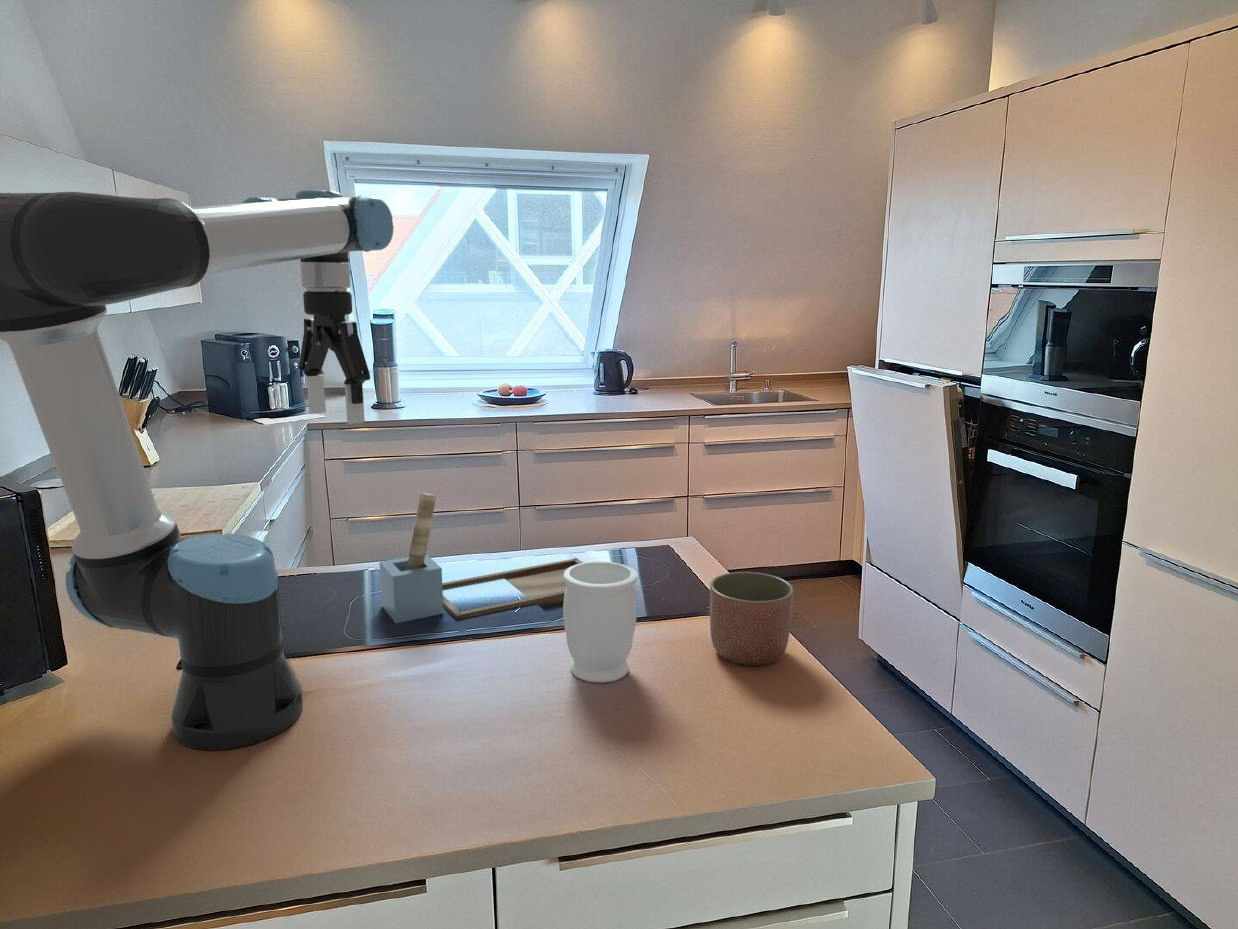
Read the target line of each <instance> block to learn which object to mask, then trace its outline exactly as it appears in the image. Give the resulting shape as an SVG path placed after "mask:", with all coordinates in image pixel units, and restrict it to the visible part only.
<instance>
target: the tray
mask: <svg viewBox="0 0 1238 929" xmlns="http://www.w3.org/2000/svg"><path fill="white" fill-rule="evenodd" d="M580 563H584V562H583V561H582V560H580V559H578V558H577V557H576V558H571V559H565V560H560V561H554V562H548V563H542V564H538V565H531V566H526V567H523V568H516V569H512V570H505V571H500V572H496V573H489V574H484V575H478V576H474V577H473V576H472V577H469V578H463V579H462V578H461V579H458V580H451V581H447V582H442V589H443V590H446V589H451V588H456V587H462V586H465V585H472V584H477V583H482V582H487V581H492V580H499V579H504V580H505V581H506V582H508V583H509V584H510V585H512V586H513V587H514V588H516V589H517V591H519V592H521V593H522V594H523V595H524V596H525V597H526V598H522V599H518V600H513V601H509V602H503V603H498V604H494V605H488V606H483V607H478V608H474V609H468V610H465V611H463V610H462V611H459V609H458V608H457V607H455V605H454V604H453V603H452V602H450V601H449V599H448V598H446V597H445V596H444V595H443V608H444V609H445V610H446V611H447V612H449V614H450V615H451V616H452V617H453V618H454V619H456V621H458V620H462V619H467V618H472V617H476V616H481V615H485V614H491V613H495V612H500V611H505V610H509V609H513V608H515V609H516V608H519V607H523V606H528V605H533V604H535V605H537V606H538V607H539V608H545V607H551V606H556V605H560V604H563V603H564V595H565V590H566V587H567V585H566V583H565V582H564V580H563V575H564V571H565V570H566V569H567V568H569V567H571V566H573V565H576V564H580Z"/></svg>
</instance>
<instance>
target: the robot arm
mask: <svg viewBox="0 0 1238 929" xmlns="http://www.w3.org/2000/svg"><path fill="white" fill-rule="evenodd" d="M393 234H394V222H393V215H392V212H391V209H390V208H389V206H388V205H387V203H386V202H385V201H384V200H383V199H381V198H380V197H376V196H364V195H358V196H344V195H342V193H341V192H337V191H334V190H322V189H321V190H319V189H303V190H299V191H297V193H296V194H295V197H293V198H291V197H290V198H275V197H270V196H250V197H248V198H246V199H244V200H243V201H242V202H240V203H225V204H211V205H209V204H208V205H193V206H192V205H191V206H189V205H188V204H187V203H185V202H183V201H181V200H179V199H176V198H172V197H171V198H170V197H161V198H145V197H131V196H130V197H129V196H120V195H119V196H118V195H112V194H111V195H110V194H102V193H101V194H100V193H91V192H82V191H81V192H80V191H57V192H14V193H12V192H1V193H0V340H1V341H3V342H5V343H6V344H8V345H9V348H10V351H11V353H12V356H13V359H14V361H15V364H16V366H17V368H18V372H19V375H20V377H21V379H22V382H23V384H24V387H25V389H26V392H27V395H28V397H29V401H30V403H31V405H32V408H33V411H34V414H35V415H36V418H37V421H38V424H39V426H40V430H41V431H42V434H43V437H44V440H45V442H46V445H47V447H48V450H49V452H50V456H51V458H52V460H53V463H54V466H55V468H56V472H58V474H57V475H58V476H59V479H60V481H61V484H62V487H63V488H64V492H65V494H66V497H67V499H68V502H69V505H70V507H71V510H72V512H73V515H74V518H75V520H76V523H77V525H78V527H79V528H78V529H79V533H78V534H77V536H75V538H74V540H73V541H72V543H71V551H72V556H71V558H70V560H69V563H68V565H69V566H70V568H69V570H68V571H66V573H65V588H66V592H67V596H68V598H69V600H70V602H71V604H72V605H73V607H74V608H75V610H77V611H78V612H79V613H80V615H82V616H83V617H85V618H87V619H88V620H90V621H93V622H94V623H95V622H96V623H98V624H101V625H103V626H107V627H108V628H114V629H119V630H129V631H135V632H139V633H140V632H141V633H147V634H152V635H156V636H157V635H158V636H161V637H168V638H173V639H177V640H178V648H179V657H180V662H181V664H180V665H181V676H180V680H179V684H178V688H177V692H176V695H175V696H176V697H175V700H174V704H173V707H172V712H171V724H172V725H171V726H172V732H173V736H174V738H175V740H176V741H177V742H179V743H180V744H182V745H184V746H186V747H188V748H193V749H197V750H204V751H205V750H206V751H208V750H209V751H218V750H228V749H235V748H237V749H238V748H239V747H241V748H242V747H245V746H250V745H253V744H257V743H259V742H262V741H265V740H267V739H270V738H271V737H274V736H276V735H277V734H279V733H282V732H283V731H285V730H286V729H288V728H289V727H291V726H292V725H293V724H294V723H295V722H296V721H297V720H298V719H299V717H300V716H301V714H302V712H303V708H304V707H303V696H302V689H301V687H300V684H299V683H298V680H297V678H296V677H295V676H296V675H295V674H294V672H293V670H292V668H291V666H290V664H289V662H288V660H287V658H286V655H285V652H284V648H283V646H284V645H283V633H282V619H281V617H282V616H281V604H280V603H281V602H280V593H279V592H280V590H279V574H278V571H277V569H276V563H275V556H274V553H273V552H272V550H271V548H270V547H269V546H268V545H267V544H266V543H264V542H263V541H262V540H259V539H257V538H255V537H251V536H248V535H244V534H239V533H238V534H237V533H229V532H227V533H225V534H224V533H223V534H218V533H216V532H214V533H205V534H204V533H203V534H199V535H194V536H191V537H187V538H185V539H182V535H181V532H180V530H179V528H178V525H177V522H176V521H177V520H176V518H175V517H174V515H172V514H171V513H169V512H166V511H164V510H162V509H159V508H158V505H157V504H156V501H155V497H154V494H153V491H152V489H151V485H150V483H149V479H148V477H147V473H146V471H145V468H144V465H143V461H142V458H141V455H140V453H139V449H138V447H137V444H136V441H135V438H134V435H133V432H132V429H131V425H130V423H129V420H128V416H127V414H126V411H125V408H124V405H123V402H122V399H121V396H120V393H119V391H118V386H117V384H116V381H115V378H114V376H113V375H114V374H113V372H112V369H111V366H110V364H109V363H110V362H109V361H108V357H107V354H106V351H105V348H104V345H103V341H102V340H101V336H100V332H99V331H98V327H99V324H100V323H101V322H102V320H103V319H104V317H105V316H106V314H107V313H108V310H107V307H106V306H107V305H113V304H118V303H122V302H127V301H131V300H135V299H139V298H144V297H146V296H151V295H155V294H160V293H165V292H169V291H174V290H178V289H182V288H187V287H188V288H189V287H193V286H196V285H198V284H199V283H200V282H202V281H203V280H204V279H205V278H206V276H207V275H210V274H216V273H217V274H218V273H222V272H229V271H235V270H241V269H246V268H247V269H248V268H253V267H259V266H264V265H271V264H272V265H273V264H279V263H283V262H291V261H296V260H300V263H299V264H300V276H301V286H302V288H305V291H304V292H303V293H302V297H303V299H302V300H303V308H304V309H303V311H304V313H305V314H306V315H311V316H313V317H312V318H310V317H305V318H303V335H302V344H301V347H300V348H301V349H300V354H299V362H298V370H299V371H301V372H303V373H304V376H306V377H305V378H306V388H307V389H306V390H307V400H308V412H309V414H311V415H313V414H314V415H315V414H324V413H326V411H327V410H326V409H327V408H326V394H325V381H324V375H325V373H324V370H323V367H324V364H325V360H326V358H327V354H328V351H329V350H330V351H331V352H333V353H334V354H335V357H336V359H337V362H338V363H339V366H340V368H341V370H342V373H343V375H344V377H345V380H344V382H343V384H344V394H345V408H346V421H347V424H348V425H354V424H361V423H365V422H366V421H365V420H366V419H365V408H364V407H365V403H364V388H363V385H364V383H365V382H366V381H370V380H371V375H370V371H369V370H370V369H369V367H368V363H367V361H366V357H365V354H364V351H363V348H362V347H363V346H362V343H361V341H360V337H359V332H358V331H359V330H358V324H357V322H356V320H352V321H351V320H348V321H346V318H345V316H346V315H351V314H353V296H352V293H351V292H350V291H348V289H349V288H351V274H352V271H351V269H350V257H349V252H365V253H368V252H371V251H372V252H373V251H381V250H384V249H386V248H387V247H388V246H389V245H390V243H391V241H392V239H393Z"/></svg>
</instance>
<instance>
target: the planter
mask: <svg viewBox="0 0 1238 929" xmlns="http://www.w3.org/2000/svg"><path fill="white" fill-rule="evenodd" d="M794 589H795V588H794V587H793V585H792V584H791V583H790V582H788V581H787V580H785V579H783V578H781V577H779V576H776V575H771V574H769V573H762V572H754V571H753V572H752V571H736V572H734V571H733V572H729V573H724V574H720V575H718V576H715V577H714V578H713V579H712V580H711V581H710V583H709V623H710V624H709V625H710V626H709V628H710V637H711V642H712V645H713V648H714V649H715V651H716V652H717V654H719V655H720V656H721V657H722V658H724V659H726V660H728V661H729V662H733V663H737V664H740V665H745V666H747V665H748V666H762V665H766V664H770V663H774V662H775V661H777V660H778V659H780V658H781V657H783V655H784V653H785V652H786V649H787V646H788V643H789V638H790V632H791V631H790V630H791V625H792V624H791V623H792V614H793V604H794V593H795V590H794Z"/></svg>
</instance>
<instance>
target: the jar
mask: <svg viewBox="0 0 1238 929" xmlns="http://www.w3.org/2000/svg"><path fill="white" fill-rule="evenodd" d="M637 579H638V573H637V571H636V570H635V569H633V568H632V567H631V566H629V565H626V564H623V563H618V562H613V561H612V562H611V561H599V560H598V561H588V562H583V563H580V564H576V565H573V566H571V567H569V568H567V569H566V570H565V571H564V575H563V580H564V582H565V583H566V585H567V587H566V590H565V595H564V603H562V605H563V606H562V614H563V616H562V617H563V626H564V630H565V636H566V644H567V648H568V650H569V654H570V656H571V658H572V662H571V664H570V671H571V673H572V674H573V675H574V677H576V678H578V679H579V680H582V681H585V682H589V683H590V682H591V683H601V684H602V683H610V682H615V681H618V680H620V679H622V678H624V677H625V676H626V675H627V674H628V672H629V664H628V661H627V660H628V657H629V655H630V653H631V649H632V646H633V642H634V634H635V630H636V625H637V615H638V614H637V612H638V611H637V608H638V607H637V598H636V592H635V588H634V586H635V584H636V583H637V581H638V580H637Z"/></svg>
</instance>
